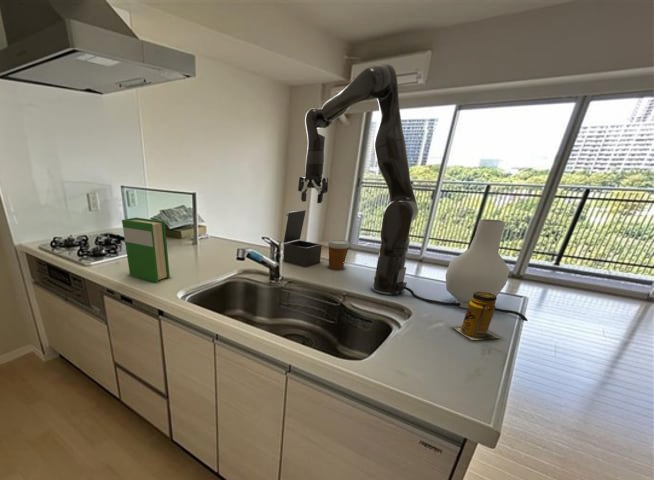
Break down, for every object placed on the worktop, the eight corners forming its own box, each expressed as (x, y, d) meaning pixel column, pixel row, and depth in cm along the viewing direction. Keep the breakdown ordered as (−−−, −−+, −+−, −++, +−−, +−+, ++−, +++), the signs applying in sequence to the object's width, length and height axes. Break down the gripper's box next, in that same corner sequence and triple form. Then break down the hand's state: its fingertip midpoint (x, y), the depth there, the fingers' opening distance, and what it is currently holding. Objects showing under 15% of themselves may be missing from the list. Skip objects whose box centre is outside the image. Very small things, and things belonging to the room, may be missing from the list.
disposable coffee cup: (321, 266, 158) (323, 240, 153) (337, 263, 162) (340, 238, 156) (334, 271, 150) (338, 245, 145) (351, 268, 154) (354, 242, 149)
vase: (498, 319, 105) (531, 227, 93) (437, 308, 112) (461, 223, 100) (493, 301, 117) (522, 219, 105) (439, 293, 125) (460, 215, 113)
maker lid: (305, 210, 162) (297, 207, 165) (290, 212, 155) (281, 210, 158) (300, 239, 169) (292, 236, 172) (284, 242, 162) (277, 239, 166)
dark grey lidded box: (320, 262, 164) (321, 244, 160) (305, 267, 157) (306, 248, 154) (298, 256, 173) (299, 239, 170) (283, 261, 167) (284, 243, 163)
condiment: (453, 328, 99) (464, 290, 94) (480, 327, 100) (492, 289, 95) (471, 340, 93) (484, 300, 88) (500, 338, 93) (514, 298, 88)
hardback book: (169, 278, 146) (164, 221, 135) (156, 282, 140) (150, 223, 130) (143, 271, 155) (136, 217, 145) (129, 275, 150) (121, 219, 140)
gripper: (296, 162, 147) (293, 201, 154) (323, 162, 137) (319, 204, 144) (306, 162, 151) (304, 200, 158) (334, 162, 142) (329, 202, 149)
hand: (311, 202), depth 151 cm, fingers open, 8 cm apart
